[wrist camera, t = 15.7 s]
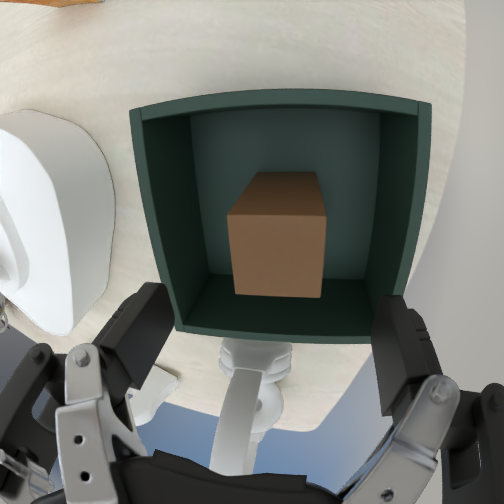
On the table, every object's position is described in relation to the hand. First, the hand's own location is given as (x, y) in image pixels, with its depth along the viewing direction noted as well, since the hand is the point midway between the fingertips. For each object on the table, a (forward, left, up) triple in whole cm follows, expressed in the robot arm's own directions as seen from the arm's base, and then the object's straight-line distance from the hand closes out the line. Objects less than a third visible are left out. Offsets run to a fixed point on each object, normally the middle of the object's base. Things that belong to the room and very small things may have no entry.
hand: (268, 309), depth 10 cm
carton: (0, 0, -13) cm, 13 cm away
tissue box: (+30, 0, -13) cm, 33 cm away
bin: (0, 0, -13) cm, 13 cm away
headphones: (+3, +20, -14) cm, 24 cm away
